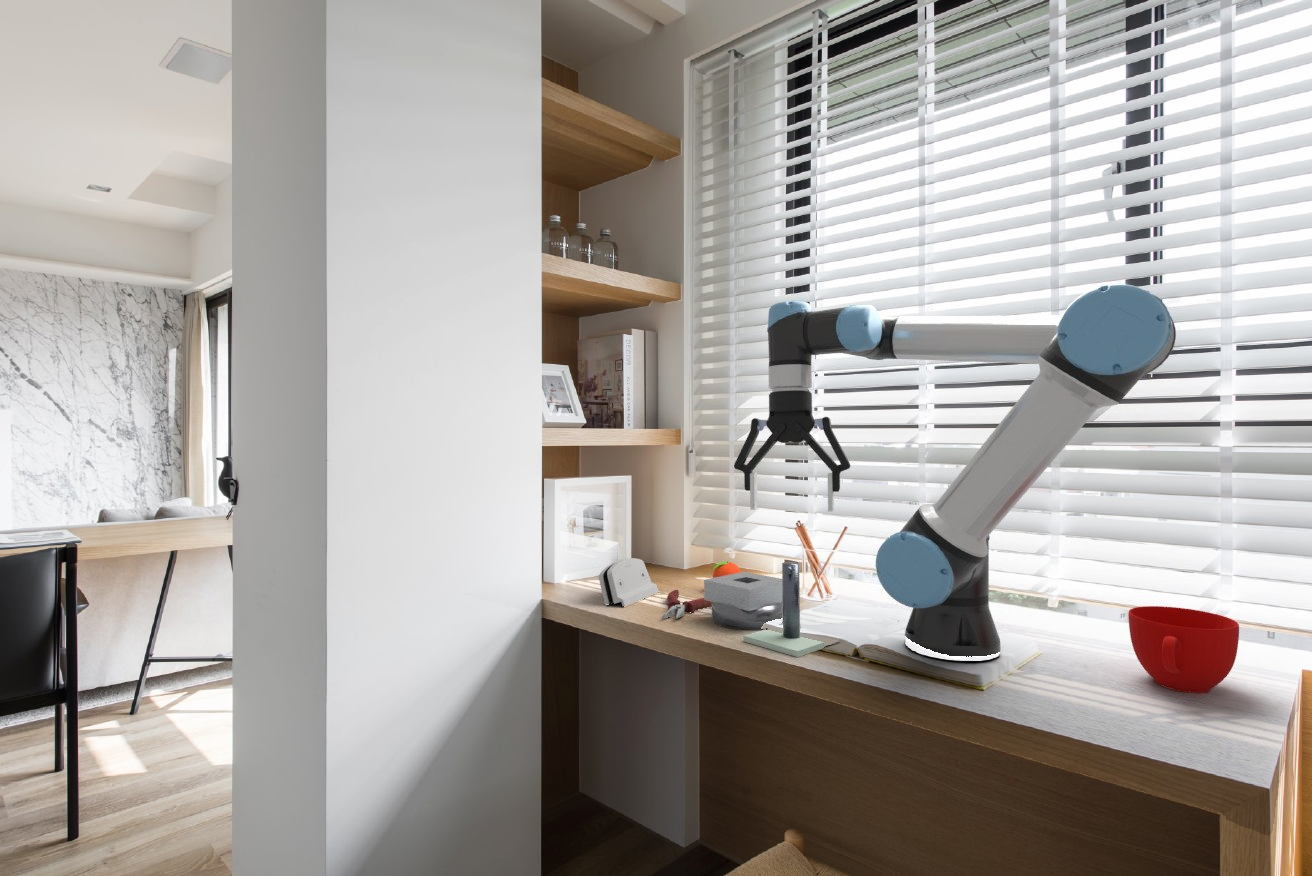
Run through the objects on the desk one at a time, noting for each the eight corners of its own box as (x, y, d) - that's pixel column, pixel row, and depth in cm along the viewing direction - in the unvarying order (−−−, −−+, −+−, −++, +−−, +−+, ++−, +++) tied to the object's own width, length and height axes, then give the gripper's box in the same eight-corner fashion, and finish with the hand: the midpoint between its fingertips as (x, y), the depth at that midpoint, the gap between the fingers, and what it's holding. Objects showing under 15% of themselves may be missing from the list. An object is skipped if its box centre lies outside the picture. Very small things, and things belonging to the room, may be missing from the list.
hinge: (624, 608, 150) (610, 563, 151) (606, 613, 152) (593, 569, 153) (659, 592, 165) (646, 551, 166) (643, 597, 167) (630, 556, 168)
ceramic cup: (1112, 692, 100) (1111, 622, 100) (1139, 664, 112) (1139, 601, 111) (1228, 718, 90) (1228, 641, 90) (1244, 684, 102) (1244, 616, 102)
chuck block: (797, 620, 139) (796, 580, 139) (750, 634, 130) (749, 591, 129) (744, 607, 149) (744, 570, 149) (697, 619, 140) (697, 579, 140)
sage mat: (839, 642, 124) (839, 636, 124) (797, 657, 116) (797, 651, 116) (786, 628, 133) (786, 623, 133) (743, 641, 125) (743, 635, 125)
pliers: (642, 621, 141) (642, 608, 141) (673, 599, 160) (673, 587, 160) (697, 627, 137) (697, 613, 137) (721, 603, 156) (721, 591, 156)
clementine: (719, 596, 159) (718, 565, 159) (703, 590, 166) (703, 560, 166) (748, 592, 163) (748, 562, 163) (732, 587, 169) (731, 557, 169)
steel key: (797, 642, 121) (796, 567, 121) (780, 640, 122) (779, 566, 122) (802, 632, 127) (801, 560, 127) (785, 630, 128) (785, 560, 128)
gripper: (864, 389, 124) (865, 509, 124) (726, 393, 132) (728, 506, 132) (862, 386, 117) (863, 513, 117) (716, 391, 125) (718, 510, 125)
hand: (791, 510), depth 124 cm, fingers open, 13 cm apart
